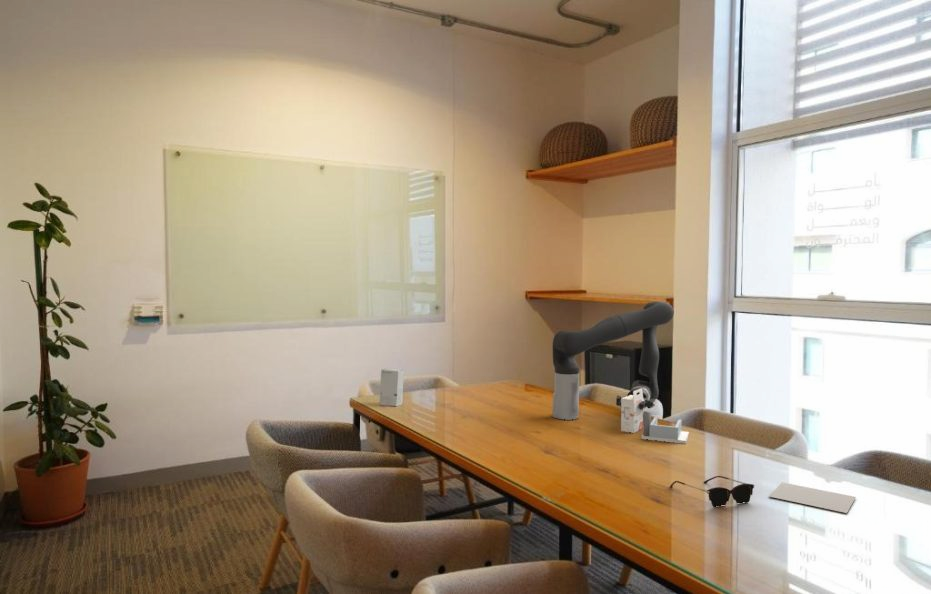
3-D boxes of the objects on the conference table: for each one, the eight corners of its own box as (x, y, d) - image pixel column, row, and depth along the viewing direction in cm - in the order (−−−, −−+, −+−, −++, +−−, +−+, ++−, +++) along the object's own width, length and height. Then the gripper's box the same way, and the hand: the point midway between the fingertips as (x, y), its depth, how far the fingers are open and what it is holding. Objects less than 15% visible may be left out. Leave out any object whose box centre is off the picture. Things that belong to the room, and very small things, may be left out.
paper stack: (790, 476, 173) (790, 473, 173) (900, 497, 157) (900, 494, 157) (768, 499, 155) (768, 496, 155) (890, 525, 139) (890, 522, 139)
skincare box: (379, 405, 260) (379, 369, 260) (386, 402, 266) (386, 367, 266) (397, 406, 258) (397, 370, 257) (403, 404, 263) (404, 368, 263)
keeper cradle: (641, 438, 210) (642, 412, 210) (646, 430, 222) (647, 405, 222) (685, 443, 204) (686, 416, 204) (688, 434, 216) (689, 408, 216)
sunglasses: (708, 510, 147) (708, 489, 147) (665, 492, 162) (664, 473, 162) (755, 504, 152) (754, 483, 152) (708, 487, 167) (708, 468, 167)
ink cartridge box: (629, 426, 227) (630, 386, 227) (642, 428, 224) (643, 387, 224) (620, 431, 220) (620, 389, 220) (633, 433, 217) (634, 391, 217)
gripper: (619, 385, 238) (610, 393, 223) (658, 389, 232) (652, 396, 217) (618, 405, 238) (610, 414, 223) (658, 409, 233) (652, 418, 217)
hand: (631, 405), depth 220 cm, fingers closed on ink cartridge box, 6 cm apart
